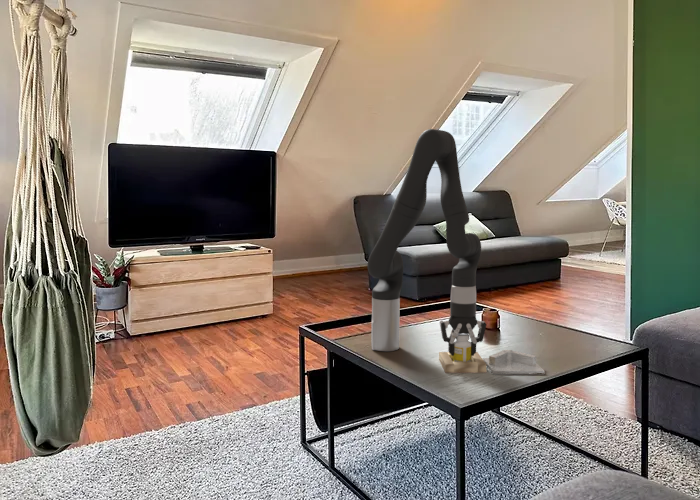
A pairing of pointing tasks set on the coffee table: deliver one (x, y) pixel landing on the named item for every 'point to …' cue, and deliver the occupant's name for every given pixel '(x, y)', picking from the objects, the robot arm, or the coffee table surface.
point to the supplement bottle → (462, 348)
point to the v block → (512, 363)
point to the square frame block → (462, 364)
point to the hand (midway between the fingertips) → (462, 354)
